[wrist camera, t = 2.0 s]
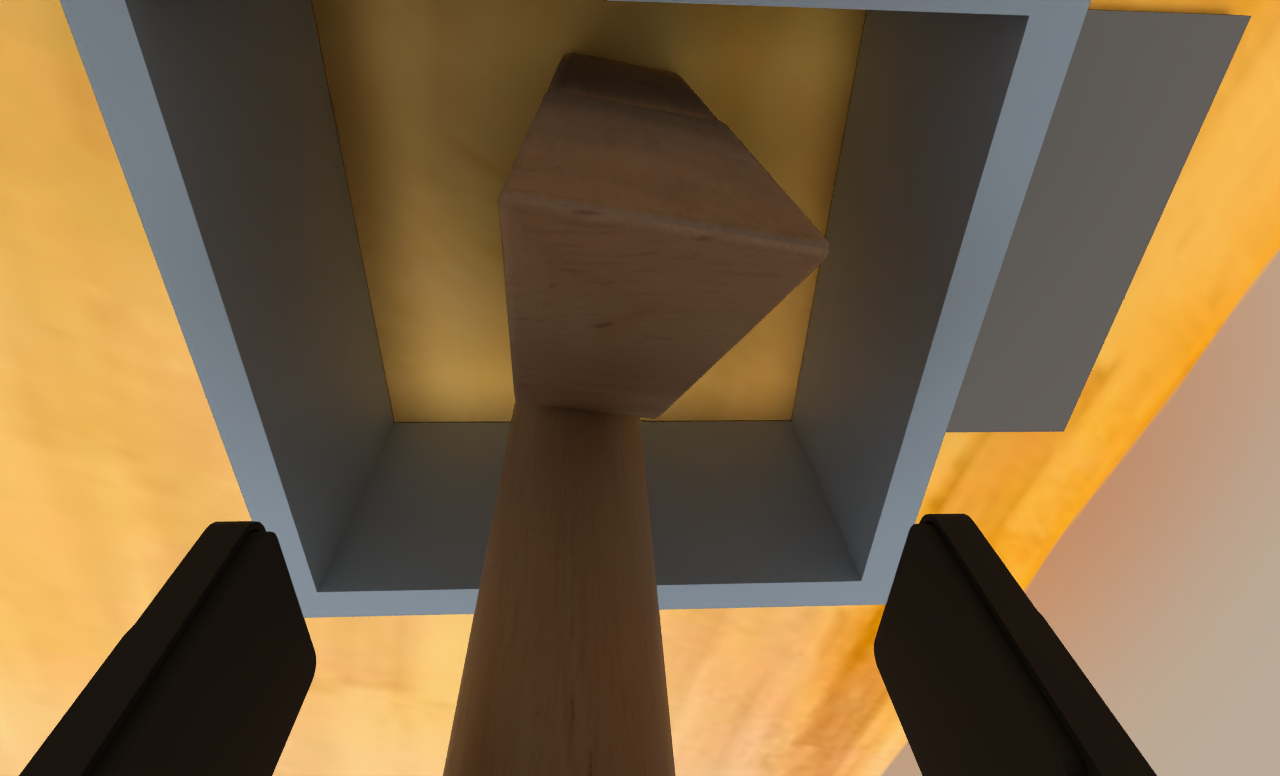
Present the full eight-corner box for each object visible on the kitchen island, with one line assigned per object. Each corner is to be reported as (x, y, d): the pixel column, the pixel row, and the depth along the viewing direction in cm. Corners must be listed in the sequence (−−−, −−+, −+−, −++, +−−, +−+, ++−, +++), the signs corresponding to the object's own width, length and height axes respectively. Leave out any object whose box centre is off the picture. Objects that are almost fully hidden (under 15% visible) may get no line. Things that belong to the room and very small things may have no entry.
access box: (256, -68, 17) (23, -99, 10) (912, -41, 18) (1107, -52, 11) (371, 444, 25) (287, 618, 18) (812, 441, 26) (887, 604, 19)
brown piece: (686, 73, 19) (1057, 470, 4) (624, 389, 24) (671, 1075, 9) (558, 48, 18) (372, 390, 3) (524, 376, 24) (396, 1080, 9)
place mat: (956, 4, 18) (969, 5, 18) (1227, 14, 19) (1251, 16, 18) (854, 420, 26) (861, 432, 25) (1051, 419, 26) (1063, 431, 26)
